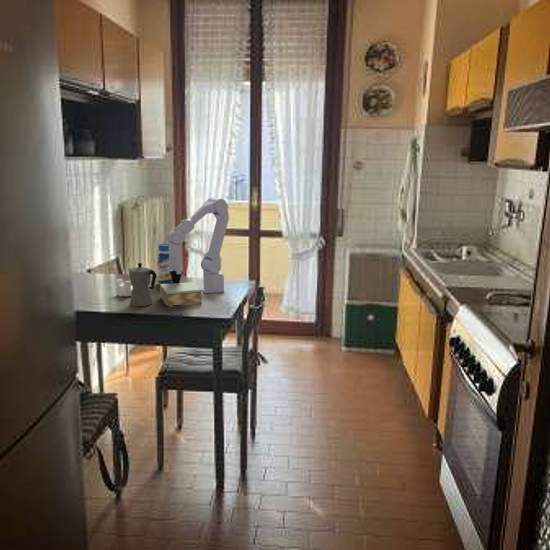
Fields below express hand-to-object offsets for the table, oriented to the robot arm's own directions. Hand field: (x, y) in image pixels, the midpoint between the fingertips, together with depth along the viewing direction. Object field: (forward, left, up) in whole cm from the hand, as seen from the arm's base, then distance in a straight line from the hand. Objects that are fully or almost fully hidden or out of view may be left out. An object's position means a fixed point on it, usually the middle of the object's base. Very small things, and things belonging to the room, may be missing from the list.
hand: (176, 286), depth 248 cm
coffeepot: (+17, +10, -5) cm, 20 cm away
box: (0, +10, -4) cm, 10 cm away
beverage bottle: (0, -26, -5) cm, 26 cm away
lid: (0, +9, -2) cm, 9 cm away
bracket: (+18, -10, -5) cm, 21 cm away
